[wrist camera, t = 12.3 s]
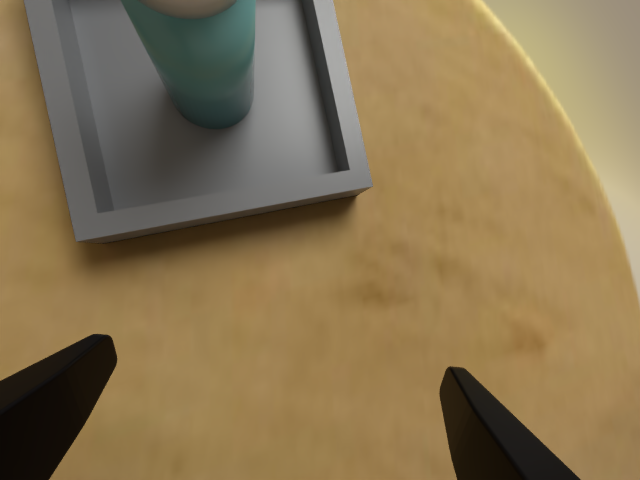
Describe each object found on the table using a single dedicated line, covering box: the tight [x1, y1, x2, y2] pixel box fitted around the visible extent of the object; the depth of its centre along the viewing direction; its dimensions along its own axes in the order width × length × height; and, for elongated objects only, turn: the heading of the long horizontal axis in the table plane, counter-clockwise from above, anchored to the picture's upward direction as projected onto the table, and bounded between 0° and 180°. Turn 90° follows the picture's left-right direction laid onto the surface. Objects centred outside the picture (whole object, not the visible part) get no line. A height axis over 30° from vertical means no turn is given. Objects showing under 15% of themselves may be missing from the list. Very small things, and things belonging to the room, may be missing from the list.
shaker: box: [121, 0, 256, 129], centre depth 14 cm, size 5×5×10 cm
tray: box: [24, 0, 373, 244], centre depth 19 cm, size 16×16×3 cm
